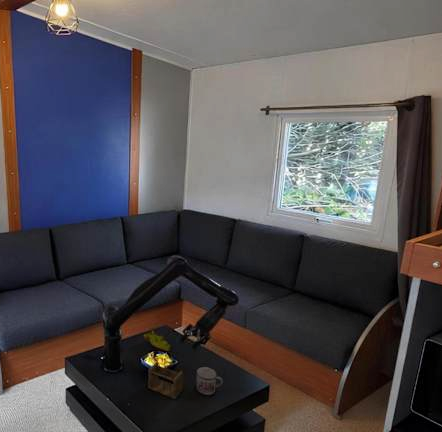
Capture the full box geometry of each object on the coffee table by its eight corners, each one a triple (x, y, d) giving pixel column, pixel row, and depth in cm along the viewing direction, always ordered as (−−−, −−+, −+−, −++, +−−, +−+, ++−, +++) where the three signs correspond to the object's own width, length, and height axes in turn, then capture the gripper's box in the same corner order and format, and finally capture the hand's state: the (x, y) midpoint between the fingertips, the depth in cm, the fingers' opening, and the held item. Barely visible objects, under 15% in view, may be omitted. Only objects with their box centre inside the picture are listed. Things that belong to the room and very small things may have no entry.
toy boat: (150, 338, 238) (150, 323, 236) (173, 352, 223) (174, 336, 221) (142, 342, 234) (142, 326, 232) (165, 356, 220) (165, 339, 218)
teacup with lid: (196, 394, 188) (197, 372, 186) (194, 382, 197) (196, 361, 194) (223, 397, 186) (225, 375, 183) (220, 385, 195) (222, 363, 192)
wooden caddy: (148, 387, 193) (148, 369, 191) (155, 379, 200) (156, 361, 197) (175, 399, 185) (175, 380, 183) (182, 390, 191) (183, 371, 189)
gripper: (194, 311, 203) (173, 334, 198) (215, 320, 190) (193, 345, 185) (201, 322, 205) (180, 344, 200) (222, 331, 193) (200, 355, 188)
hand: (186, 344), depth 193 cm, fingers open, 8 cm apart
